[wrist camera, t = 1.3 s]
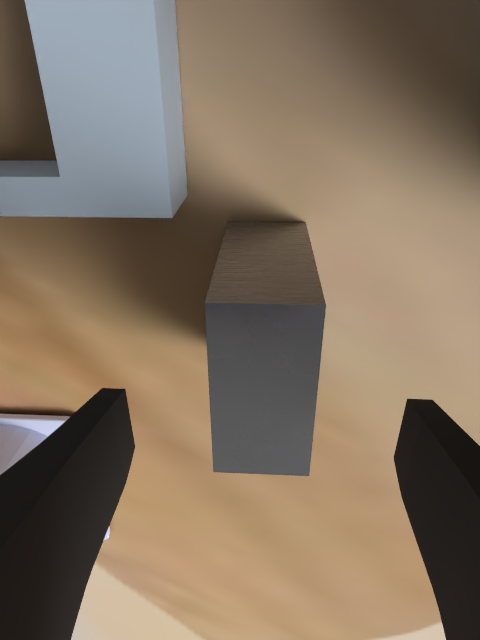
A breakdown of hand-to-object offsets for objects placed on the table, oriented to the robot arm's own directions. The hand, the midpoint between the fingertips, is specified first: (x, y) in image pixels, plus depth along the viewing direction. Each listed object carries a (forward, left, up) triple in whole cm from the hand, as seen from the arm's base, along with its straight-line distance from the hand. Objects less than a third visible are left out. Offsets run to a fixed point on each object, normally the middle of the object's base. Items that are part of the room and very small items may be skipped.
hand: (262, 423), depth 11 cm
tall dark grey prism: (0, 0, -8) cm, 8 cm away
